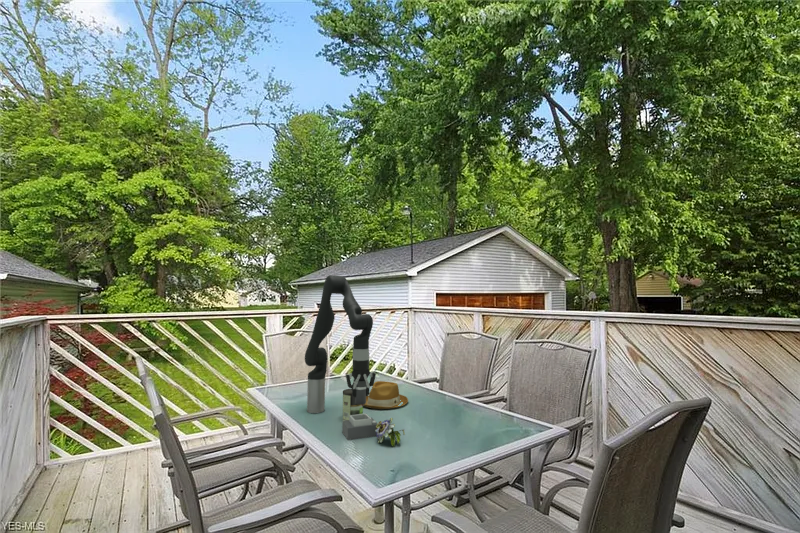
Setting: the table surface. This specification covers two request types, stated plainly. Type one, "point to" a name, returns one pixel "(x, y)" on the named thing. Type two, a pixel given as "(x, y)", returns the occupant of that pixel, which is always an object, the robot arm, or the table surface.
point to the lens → (360, 393)
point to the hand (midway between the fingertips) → (360, 396)
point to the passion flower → (387, 432)
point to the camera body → (359, 427)
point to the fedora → (385, 396)
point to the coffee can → (350, 405)
